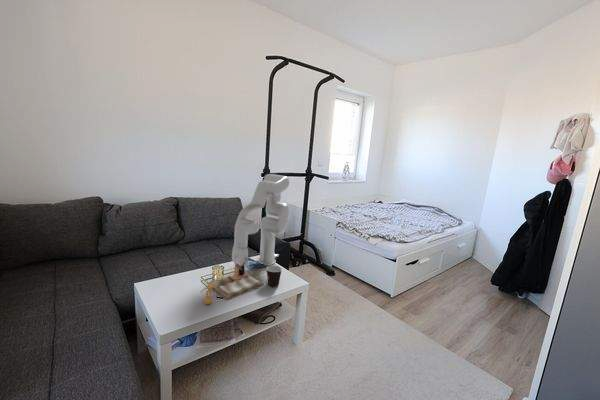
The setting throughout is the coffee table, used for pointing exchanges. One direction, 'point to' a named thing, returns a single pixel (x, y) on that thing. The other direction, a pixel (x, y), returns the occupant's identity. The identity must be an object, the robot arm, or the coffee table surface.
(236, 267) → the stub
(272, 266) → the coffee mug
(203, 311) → the coffee table surface
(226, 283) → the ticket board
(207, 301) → the figurine
